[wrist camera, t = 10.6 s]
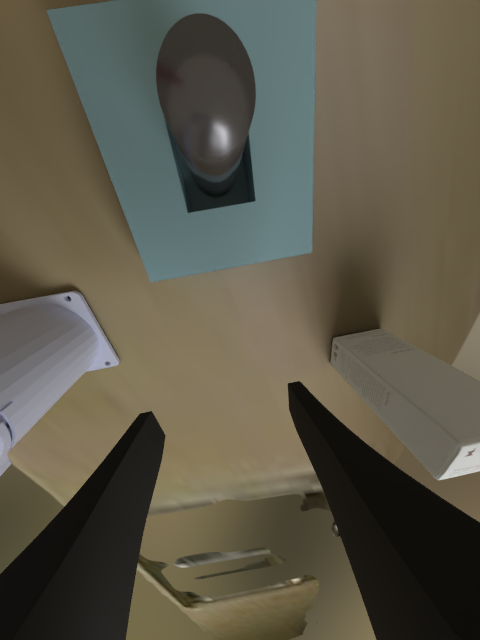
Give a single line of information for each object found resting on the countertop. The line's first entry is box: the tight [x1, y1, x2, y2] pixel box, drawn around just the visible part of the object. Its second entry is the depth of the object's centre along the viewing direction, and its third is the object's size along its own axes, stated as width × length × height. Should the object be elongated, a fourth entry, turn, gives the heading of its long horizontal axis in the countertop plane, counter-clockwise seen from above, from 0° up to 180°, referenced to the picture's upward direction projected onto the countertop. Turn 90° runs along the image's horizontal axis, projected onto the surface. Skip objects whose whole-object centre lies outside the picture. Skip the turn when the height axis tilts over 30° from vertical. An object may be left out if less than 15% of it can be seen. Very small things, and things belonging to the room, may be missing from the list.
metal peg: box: [156, 13, 256, 197], centre depth 9 cm, size 3×3×8 cm
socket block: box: [46, 0, 316, 282], centre depth 12 cm, size 12×12×3 cm
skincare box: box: [330, 329, 480, 480], centre depth 16 cm, size 6×4×12 cm
